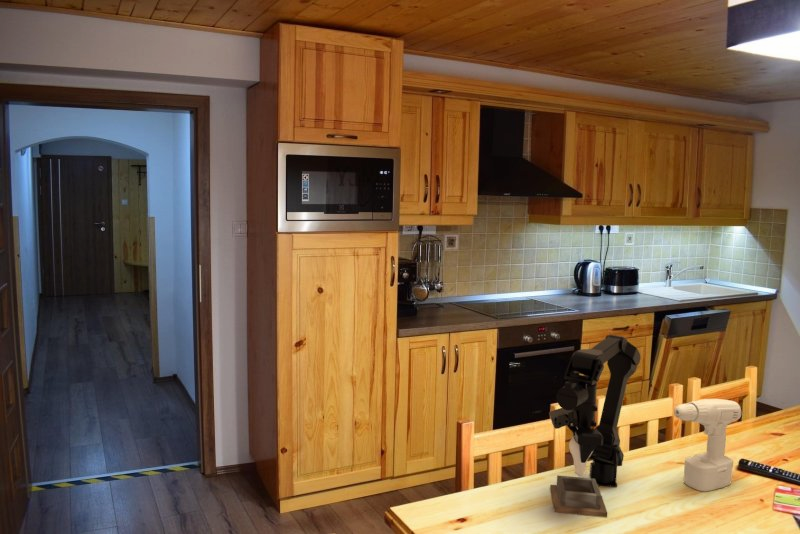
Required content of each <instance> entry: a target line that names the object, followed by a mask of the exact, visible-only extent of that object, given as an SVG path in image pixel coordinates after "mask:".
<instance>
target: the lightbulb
mask: <svg viewBox="0 0 800 534" xmlns="http://www.w3.org/2000/svg"><path fill="white" fill-rule="evenodd" d="M574 437H575V436H574ZM568 449H569V452H570V454H571V456H572V459H573V466H574V469H573V470H574V474H575V475H577V477H581V476H584V475H585V470H586V467H587V463H588V460H589V459H587V461H586V462H585V463H582V462H581V459H580V450H579V444H577V443H576V441H575V439H574V438H573V437H572V438H571V439H570V440H569V442H568ZM592 452H593V451H592ZM591 454H592V453H591ZM591 454H590V456H591ZM590 456H589V457H590Z"/></svg>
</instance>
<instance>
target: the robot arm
mask: <svg viewBox="0 0 800 534" xmlns="http://www.w3.org/2000/svg"><path fill="white" fill-rule="evenodd" d="M640 362H641V353H640V351H639V350H638V348H637V347H636V346H635V345H633V344H632V343H631V342H629V341H628V339H627V338H625V337H624V336H621V335H615V334H607V335H606V336H605V338H604V339H603V340H602V341H600V342H598V343H597V344H596V345H594V346H593V347H591V348H587V349H586V348H585V349H584V348H583V349H579V350H576V351H574V352H573V354H572V355H571V356H570V359H569V362H568V364H567V368H566V370H565V373H564V376H563V379H565V380H568V381H565V382H564V386H563V387H561V388H560V389H558V391H557V393H556V395H555V396H556V399H555V400H556V402H557V404H558V405H559V407H560V408H557V409H553V410H551V411H549V412H548V415H549V417H550V421H551V423H552V426H553V429H560V428H562V427H563V428H564V427H566V426H567V428H568V429H569V430H570V431H571V433H572V438H574V439H575V441H576V443H577V444H579V450H580V459H581V462H582V463H585V462H586V461H587V462H588V460H592V462H590V464H589V478H594V479H595V480H596V483H597V486H602V487H603V486H604V487H613V488H614V487H615V488H617V487H618V484H617V475H618V474H617V473H618V472H617V471H618V467H622V466H623V461H624V457H625V454H624V453H623V449H621V446H620V444H621V439H620V436H619V433H618V430H617V427H618V425H619V424H618V423H619V419H620V415H621V410H622V407H623V406H622V405H623V403H624V398H625V394H626V388H627V384H628V380H629V378H631V377H632V376H633V375H634V374H635V373H636V371H637V368H638V366H639V364H640ZM605 363H607V367H608V370H609V373H610V377H609V381H608V385H607V389H606V394H605V399H604V403H603V406H602V409H601V410H602V411H601V416H600V419H599V420H600V421H599V424H598V425H597V422H596V421H595V418H596V417H595V416H596V412H598V406H597V403H596V401H597V389H598V388H597V385H598V382H599V381H600V379H601V375H602V373H603V371H604V368H605V366H604V364H605ZM592 427H594V428H592ZM574 436H575V437H574ZM592 451H593V452H592ZM591 453H592V454H591ZM590 454H591V456H590ZM589 456H590V457H589ZM587 459H588V460H587Z"/></svg>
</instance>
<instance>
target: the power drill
mask: <svg viewBox="0 0 800 534" xmlns="http://www.w3.org/2000/svg"><path fill="white" fill-rule="evenodd" d="M673 414H674V416H675V417H676V418H677V419H679V420H681V421H685V422H686V421H688V422H691V423H698V424H700V425H702V426H703V427H704V430H703V434H704V435H707V442H706V452H702V453H697V454H694V455H691V456H687V457H685V459H684V469H683V471H684V472H683V483H684V484H685V485H686V486H688V487H690V488H692V489H694V490H696V491H698V492H699V491H700V492H710V491H715V490H718V489H722V488H725V487H728V486H730V485H731V482H732V475H733V467H734V459H732V458H730V457H728V456H726V455H725V451H726V445H727V444H726V442H727V438H726V437H727V428H728V425H730V424H732V423H734V422H736V421H738V420H739V419H740V418H741V416H742V409H741V405H740V404H739V403H738V402H736V401H734V400H730V399H723V398H722V399H721V398H703V399H698V400H693V401H689V402H687V403H680V404H678V405H676V406H675V408H674V409H673Z"/></svg>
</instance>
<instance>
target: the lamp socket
mask: <svg viewBox="0 0 800 534" xmlns="http://www.w3.org/2000/svg"><path fill="white" fill-rule="evenodd" d="M549 491H550V495H551V500H552V501H551V502H552V506H553V511H554V513H559V514H570V515H578V516H579V515H580V516H590V517H591V516H592V517H600V518H607V517H608V511H607V510H608V509H607V508H606V505H605V502H604V499H603V497H602V494H601V490H600V488H599V485H597V483H596V480H595V479H594V478H590V477H581V476H570V475H569V476H568V475H560V474H559V475H556V484H550V485H549Z"/></svg>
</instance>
